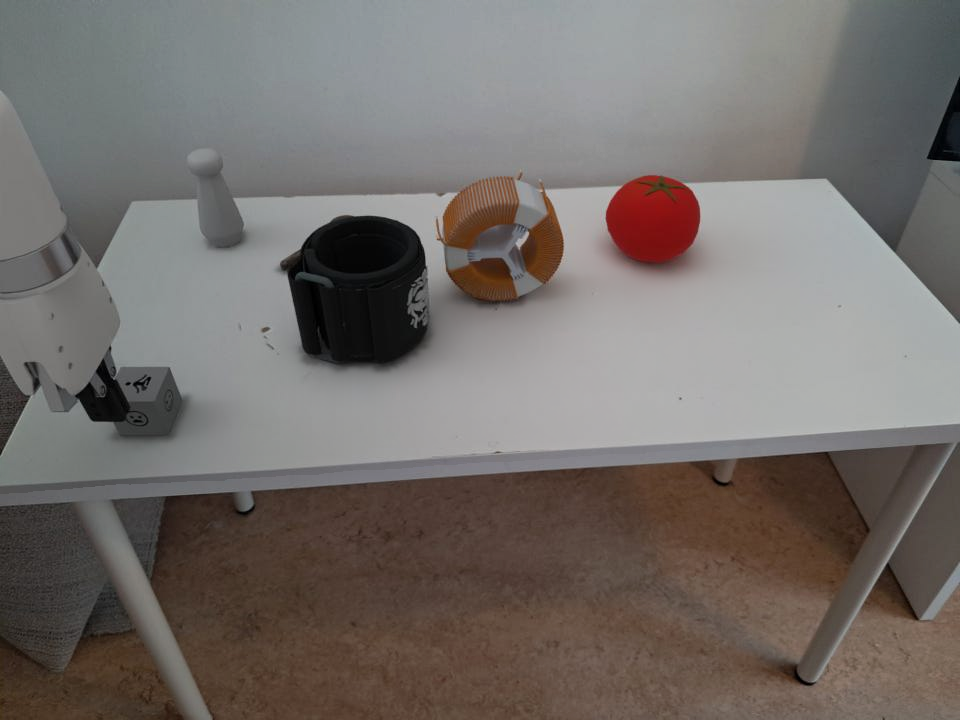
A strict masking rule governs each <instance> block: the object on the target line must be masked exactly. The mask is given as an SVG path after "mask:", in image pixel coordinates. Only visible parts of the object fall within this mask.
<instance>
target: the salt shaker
mask: <svg viewBox="0 0 960 720" xmlns="http://www.w3.org/2000/svg"><path fill="white" fill-rule="evenodd" d="M186 164H187V167H188V170H189V172H190V173H191V175H194V176H195V177H194V178H195V189H196V191H195V192H196V200H197V202H196V203H197V214H198V215H197V216H198V226H199V229H200V232H201V234H202V236H203V237H205V238H206V239H207V240H208V241H209V242H210V243H211V244H212V245H213V246H214V247H215V248H230V247H232V246H234V245H236V244H238V243H240V241H241V236H242V233H243V230H244V226H245V222H244V220H243V217H242V214H241V212H240V210H239V208H238V206H237V204H236V201H235V199H234V197H233V195H232V193H231V190H230V188H229V187H228V184H227V182H226V179H225V178H224V176H223V173H222V172H221V171H222V170H223V168H224V162H223V158H222V156H221V155H220V152H219V151H217V150H216V149H213V148H208V147H207V148H206V147H205V148H199V149H195V150H193V151H192V152H190V153H189V154H188V156H187V158H186Z"/></svg>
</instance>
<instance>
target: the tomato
mask: <svg viewBox="0 0 960 720" xmlns="http://www.w3.org/2000/svg"><path fill="white" fill-rule="evenodd" d="M605 222H606V227H607V228H606V229H607V232H608V233H609V235H610V237H611V239H612V241H613V242H614V244H615V245H616V246H617V248H618V249H619V250H620V251H621V252H623V254H625V255H627V257H630V258H632V259H634V260H637V261H640V262H645V263H662V262H667V261H671V260H673V259H676V258H678V257H679V256H680V255H682V254H684V253H685V252H686V251H687V250H688V249H689V248H690V247H691V246H692V245H693V244H694V242H695V239H696V238H697V235H698V233H699V229H700V223H701V207H700V204H699V200H698V198H697V197H696V195H695V193H694V191H693V190H692V189H691V187H688V185H686V184H684V183H683V182H681V181H679V180H677V179H674V178H671V177H668V176H663V175H662V174H660V175H657V174H656V175H655V174H648V175H642V176H639V177H636V178H634V179H632V180H630V181H628V182H626V183H624V184H623V185H622V186H621V187H620V188H619V189H618V190H617V191H616V192H615V193H614V195H613V196H612V198H611V199H610V201H609V203H608V205H607V208H606V209H605Z"/></svg>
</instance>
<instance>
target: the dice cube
mask: <svg viewBox="0 0 960 720" xmlns="http://www.w3.org/2000/svg"><path fill="white" fill-rule="evenodd" d="M114 379H117V381H118V383H119V385H120V387H121V389H122V391H123V393H124V395H125V397H126V399H127V401H128V403H129V405H130V407H131V408H130V410H129V412H128V413H126V419H125V421H124V422H113V424H114V426H115V429H116V430H117V432H118V434H119V436H169V435H170V433H171V431H172V428H173V426H174V424H175V423H174V422H175V421H176V417H177V415H178V413H179V411H180V408H181V405H182V403H183V398H182V396H181V392H180V390H179V387H178V385H177V381H176V379H175V378H174V375H173V372H172V369H171V367H170V366H120V368H119V369H118V371H117V374H116V376H115V378H114Z"/></svg>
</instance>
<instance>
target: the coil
mask: <svg viewBox="0 0 960 720" xmlns="http://www.w3.org/2000/svg"><path fill="white" fill-rule="evenodd" d="M519 172H520V173H519V175H518V176H517V179H515V178H514V177H513V176H509V175H508V176H505V175H504V176H502V175H500V176H498V175H497V176H492V177H490V176H489V178H487V177H486V178H485V179H484V178H482V179H481V180H478V181H474V182H472V183H471V184H468V186H465V187H464V188H462V190H460V191H459V192H458V193H457V194H456V195H455V196H454V197H453V198H452V199H451V200H450V201H449V203H448V204H447V206H445V207H446V208H445V209H444V212H443V215H442V229H441V230H442V231H441V232H440V224H439V218H438V217H439V216H438V215H435V225H436V232H437V234H436V241H440V242H441V244H442V245H443V254H444V264H445V272H446V274H447V276H448V277H449V279H450V281H452V283H453V284H454V285H455V286H456V287H457V288H459V290H461V291H462V292H464V293H465V294H468V295H469V296H470V297H473V298H476V299H479V300H483V301H485V300H486V301H487V302H488V301H489V302H502V301H503V302H505V301H507V302H508V301H509V300H510V301H512V300H519V299H520V297H521V296H523V295H527V294H529V293H531V292H533V291H534V290H536V289H537V288H539V287H540V286H542V285H546V284H547V283H548V282H549V281H550V280H551V279H552V277H554V275H555V274H556V272H557V270H558V269H559V267H560V265H561V263H562V260H563V256H564V250H565V241H564V235H563V231H562V228H561V225H560V222H559V219H558V215H557V213H556V210H555V207H554V205H553V203H552V202H551V199H550V197H549V196H548V195H547V193H546V190H545V188H544V187H545V186H544V184H543V181H542V179H541V178H539V179H538V181H539V184H540V187H541V190H542V191H540V190H539V189H537V188H536V187H535V186H533V185H531V184H530V183H527V182H525V181H522V180H521V178H522V176H523V170H522V168H519ZM527 233H528V235H527V237H526V239H525V241H524V242H523V243H522V244H521V245H520V247H518V245H517V242H518V241H519V240H522V239H523V238H524V236H525V235H526V234H527Z"/></svg>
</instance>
